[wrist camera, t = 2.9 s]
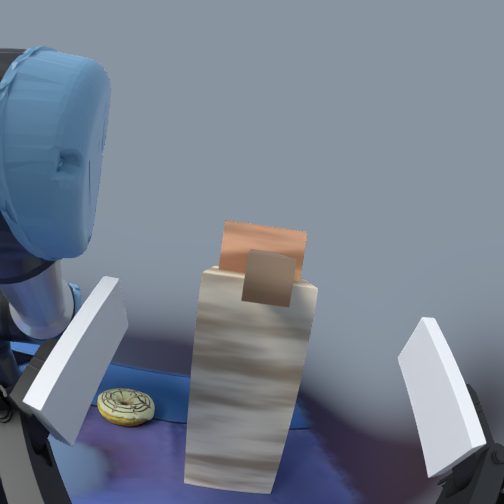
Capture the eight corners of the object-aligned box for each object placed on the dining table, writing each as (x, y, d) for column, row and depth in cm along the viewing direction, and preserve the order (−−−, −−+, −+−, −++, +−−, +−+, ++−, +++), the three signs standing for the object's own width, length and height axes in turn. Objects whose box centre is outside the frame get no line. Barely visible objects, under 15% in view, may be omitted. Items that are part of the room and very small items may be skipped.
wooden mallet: (342, 313, 18) (356, 220, 18) (185, 292, 18) (199, 196, 18) (295, 277, 40) (301, 233, 40) (221, 267, 40) (228, 222, 40)
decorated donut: (163, 426, 45) (164, 409, 45) (107, 433, 38) (105, 416, 38) (142, 398, 53) (143, 382, 53) (93, 401, 46) (92, 385, 46)
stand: (270, 493, 31) (318, 288, 30) (184, 482, 31) (202, 272, 30) (267, 454, 41) (302, 278, 40) (195, 444, 41) (214, 265, 40)
